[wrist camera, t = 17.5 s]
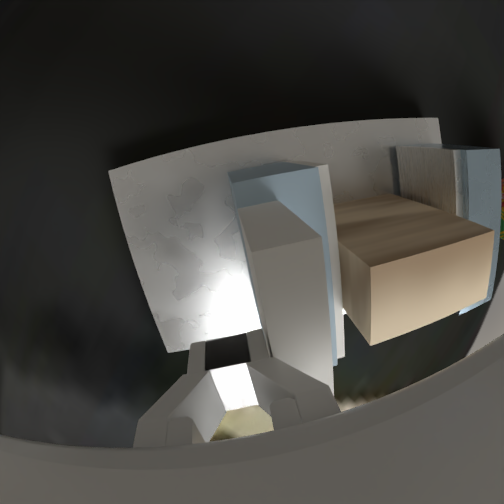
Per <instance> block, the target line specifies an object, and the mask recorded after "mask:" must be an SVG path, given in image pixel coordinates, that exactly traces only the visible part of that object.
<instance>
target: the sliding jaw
mask: <svg viewBox="0 0 504 504" xmlns="http://www.w3.org/2000/svg"><path fill="white" fill-rule="evenodd" d="M227 173H228V178H229V182H230V187H231V192H232V197H233V201H234V206H235V211H236V215H237V220H238V225H239V230H240V234H241V239H242V244H243V248H244V253H245V257H246V262H247V267H248V271H249V276H250V281H251V285H252V290H253V294H254V299H255V303H256V308H257V313H258V317H259V321H260V325H261V329H262V330H263V334H264V338H265V342H266V345H267V349H268V353H269V357H270V358H271V357H273V358H277V359H279V360H281V361H283V362H285V363H287V364H288V365H290V366H292V367H294V368H296V369H298V370H300V371H301V372H303V373H305V374H307V375H309V376H311V377H313V378H315V379H317V380H319V381H321V382H323V383H325V384H327V385H329V387H330V389H331V392H332V394H333V396H334V386H333V366H336V365H337V359H338V358H341V357H344V356H345V351H344V321H343V302H342V286H341V273H340V261H339V250H338V239H337V230H336V221H335V213H334V205H333V197H332V190H331V183H330V176H329V169H328V164H321V163H313V162H305V161H296V160H292V161H286V162H277V163H272V164H266V165H261V166H256V167H251V168H246V169H241V170H236V171H231V172H227Z"/></svg>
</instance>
